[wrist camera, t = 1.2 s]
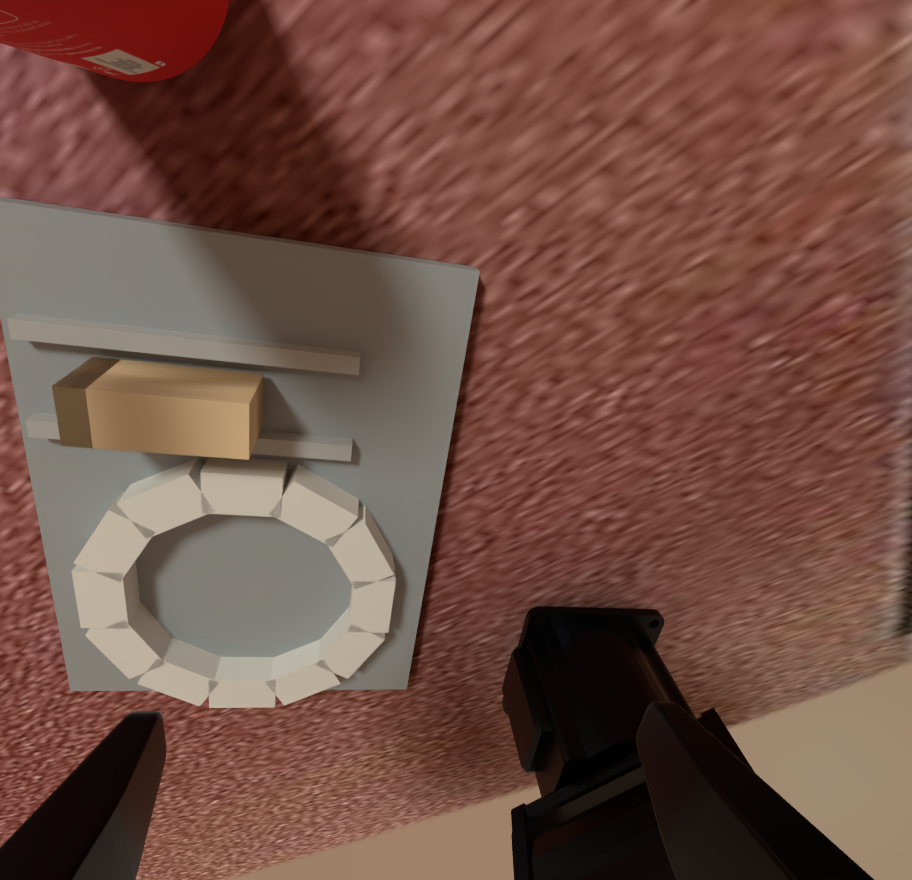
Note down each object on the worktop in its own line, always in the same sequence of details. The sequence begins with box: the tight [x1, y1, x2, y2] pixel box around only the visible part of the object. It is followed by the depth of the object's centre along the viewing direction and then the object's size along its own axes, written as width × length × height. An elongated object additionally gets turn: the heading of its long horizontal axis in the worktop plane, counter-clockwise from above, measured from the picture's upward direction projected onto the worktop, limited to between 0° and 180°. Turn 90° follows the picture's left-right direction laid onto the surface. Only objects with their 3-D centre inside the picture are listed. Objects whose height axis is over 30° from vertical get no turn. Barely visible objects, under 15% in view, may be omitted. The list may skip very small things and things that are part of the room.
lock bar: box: [52, 357, 264, 460], centre depth 17 cm, size 5×2×2 cm, turn 81°
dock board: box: [0, 197, 480, 708], centre depth 20 cm, size 14×19×2 cm
